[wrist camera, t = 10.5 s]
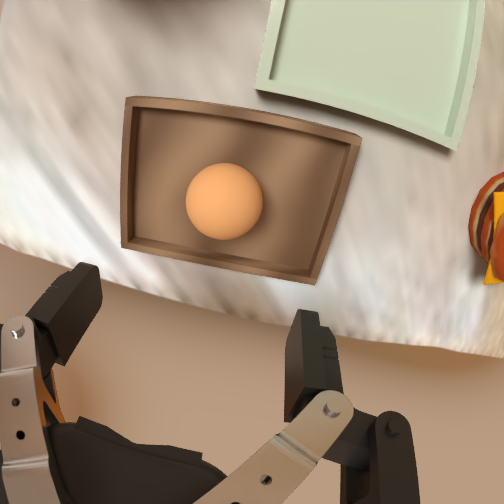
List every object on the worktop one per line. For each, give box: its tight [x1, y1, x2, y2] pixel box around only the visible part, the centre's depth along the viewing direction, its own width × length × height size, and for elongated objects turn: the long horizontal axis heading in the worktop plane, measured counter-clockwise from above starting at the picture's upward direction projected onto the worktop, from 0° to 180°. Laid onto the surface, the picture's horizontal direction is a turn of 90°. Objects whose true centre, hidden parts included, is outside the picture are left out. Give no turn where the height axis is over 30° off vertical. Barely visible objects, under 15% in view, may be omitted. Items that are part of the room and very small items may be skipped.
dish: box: [254, 0, 485, 151], centre depth 15 cm, size 15×15×2 cm
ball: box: [186, 163, 263, 240], centre depth 20 cm, size 5×5×5 cm
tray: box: [120, 96, 362, 285], centre depth 22 cm, size 16×12×2 cm
